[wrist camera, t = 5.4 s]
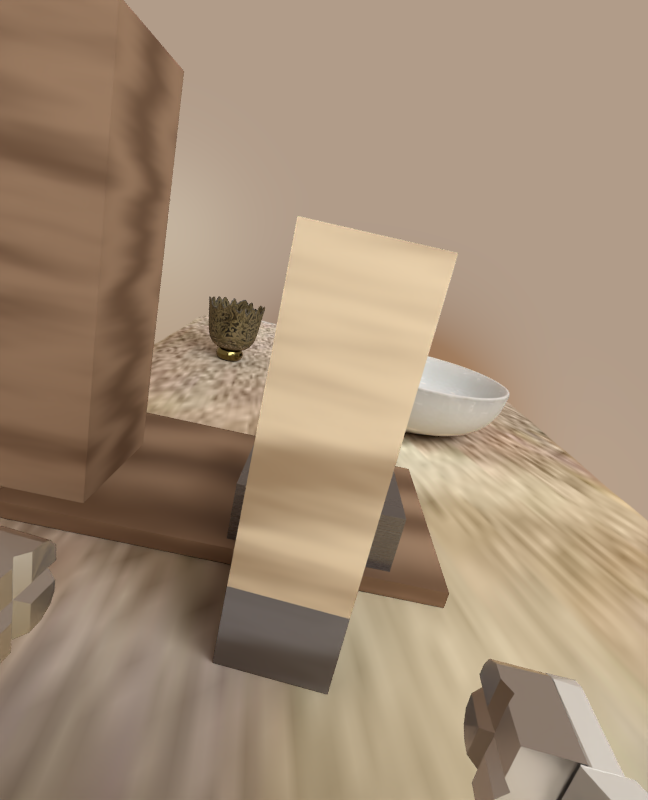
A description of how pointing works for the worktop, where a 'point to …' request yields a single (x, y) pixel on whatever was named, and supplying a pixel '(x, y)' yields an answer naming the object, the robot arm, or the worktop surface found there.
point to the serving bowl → (454, 400)
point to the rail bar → (327, 444)
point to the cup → (233, 326)
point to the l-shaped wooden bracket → (117, 306)
